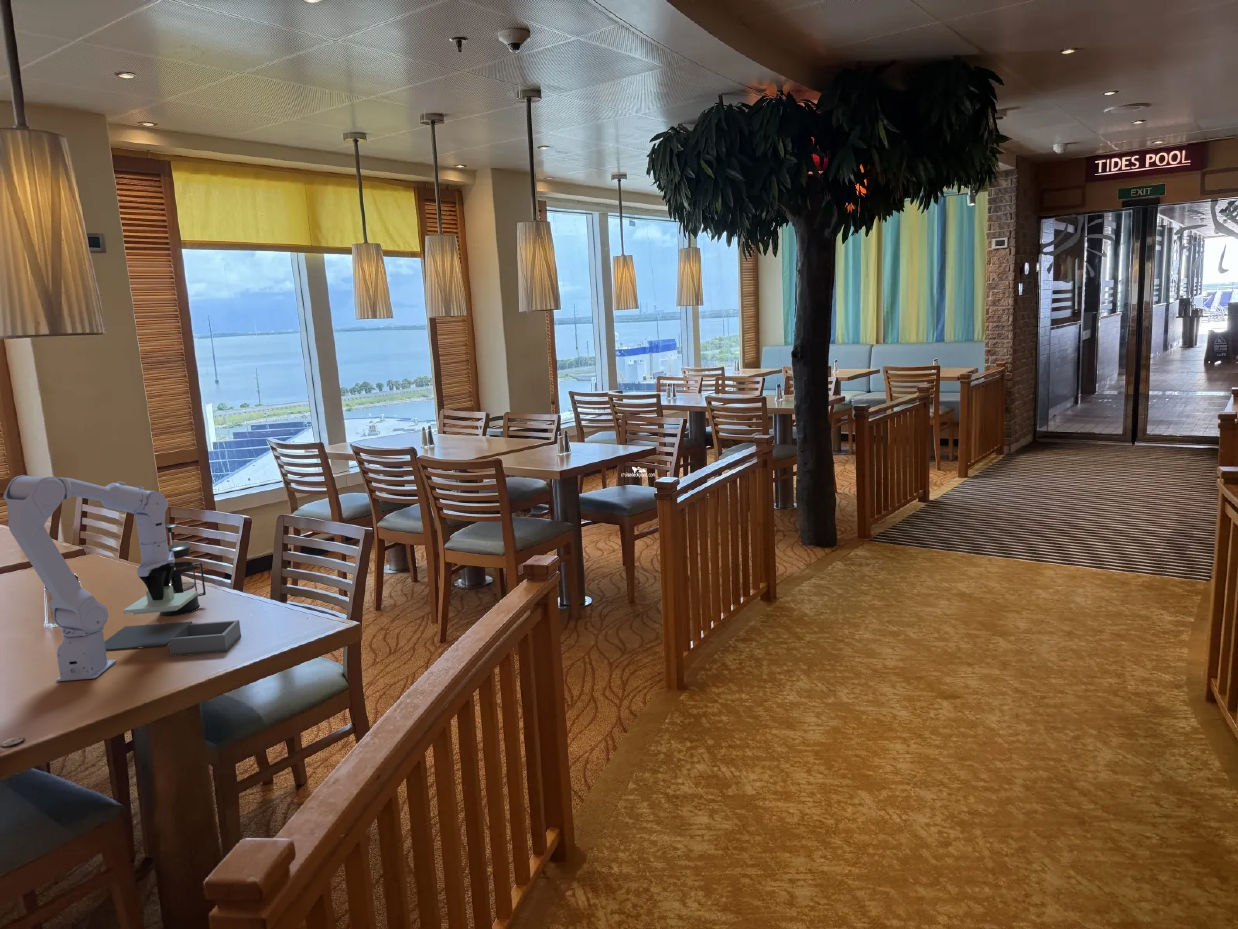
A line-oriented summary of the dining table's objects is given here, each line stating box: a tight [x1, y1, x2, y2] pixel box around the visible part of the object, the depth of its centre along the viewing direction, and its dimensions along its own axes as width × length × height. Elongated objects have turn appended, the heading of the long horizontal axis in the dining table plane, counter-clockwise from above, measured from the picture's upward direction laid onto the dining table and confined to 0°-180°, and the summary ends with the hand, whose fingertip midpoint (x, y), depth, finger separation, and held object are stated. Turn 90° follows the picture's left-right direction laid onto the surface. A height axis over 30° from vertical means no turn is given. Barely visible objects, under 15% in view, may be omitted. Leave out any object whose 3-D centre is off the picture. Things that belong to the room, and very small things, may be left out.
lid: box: [122, 586, 199, 615], centre depth 200 cm, size 10×12×5 cm
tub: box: [168, 619, 242, 657], centre depth 196 cm, size 10×12×4 cm
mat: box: [104, 621, 193, 651], centre depth 205 cm, size 16×16×1 cm
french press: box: [159, 523, 207, 617], centre depth 223 cm, size 12×9×23 cm
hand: (160, 597), depth 200 cm, fingers closed on lid, 2 cm apart
